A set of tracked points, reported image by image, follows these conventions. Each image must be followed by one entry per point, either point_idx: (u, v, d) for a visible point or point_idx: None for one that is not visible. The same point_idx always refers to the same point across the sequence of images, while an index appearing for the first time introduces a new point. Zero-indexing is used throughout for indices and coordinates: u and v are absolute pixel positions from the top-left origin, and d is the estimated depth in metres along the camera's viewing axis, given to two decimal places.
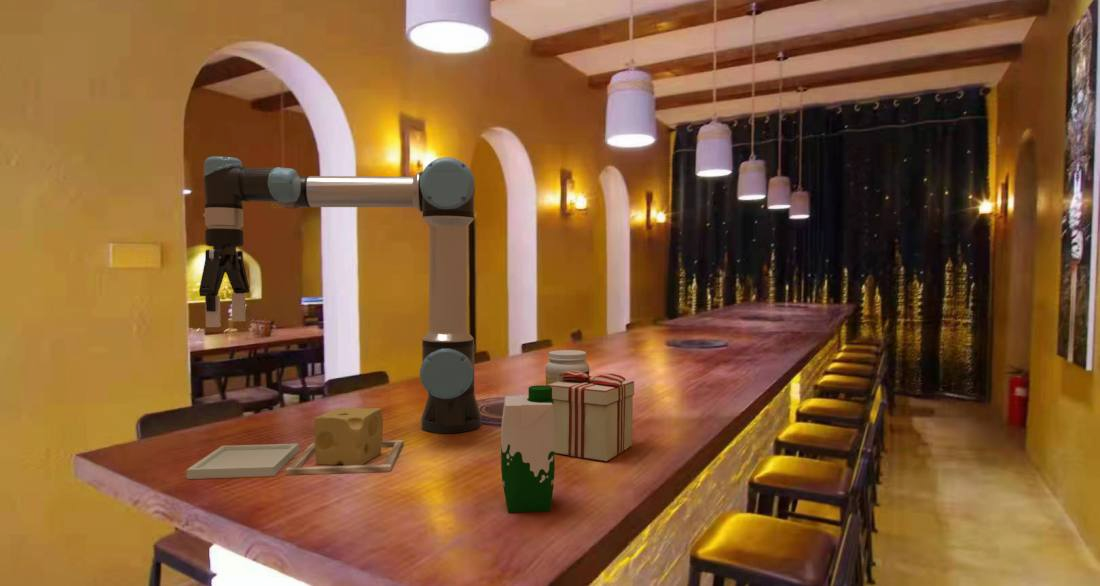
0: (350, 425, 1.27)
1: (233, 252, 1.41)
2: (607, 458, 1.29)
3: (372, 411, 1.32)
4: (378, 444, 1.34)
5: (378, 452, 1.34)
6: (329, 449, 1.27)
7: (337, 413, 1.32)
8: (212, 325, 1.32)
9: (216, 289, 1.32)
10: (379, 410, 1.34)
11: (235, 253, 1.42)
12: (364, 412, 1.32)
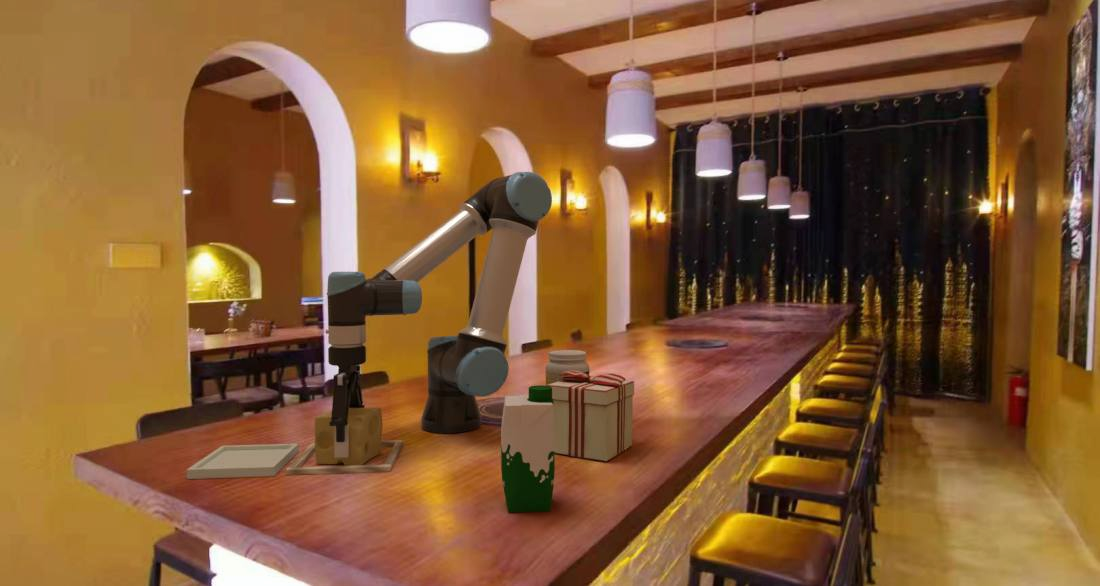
0: (350, 424, 1.27)
1: (354, 368, 1.33)
2: (607, 458, 1.29)
3: (372, 410, 1.33)
4: (378, 444, 1.34)
5: (378, 451, 1.34)
6: (329, 448, 1.28)
7: None
8: (341, 455, 1.25)
9: (346, 418, 1.25)
10: (379, 409, 1.35)
11: (355, 368, 1.34)
12: (364, 411, 1.32)
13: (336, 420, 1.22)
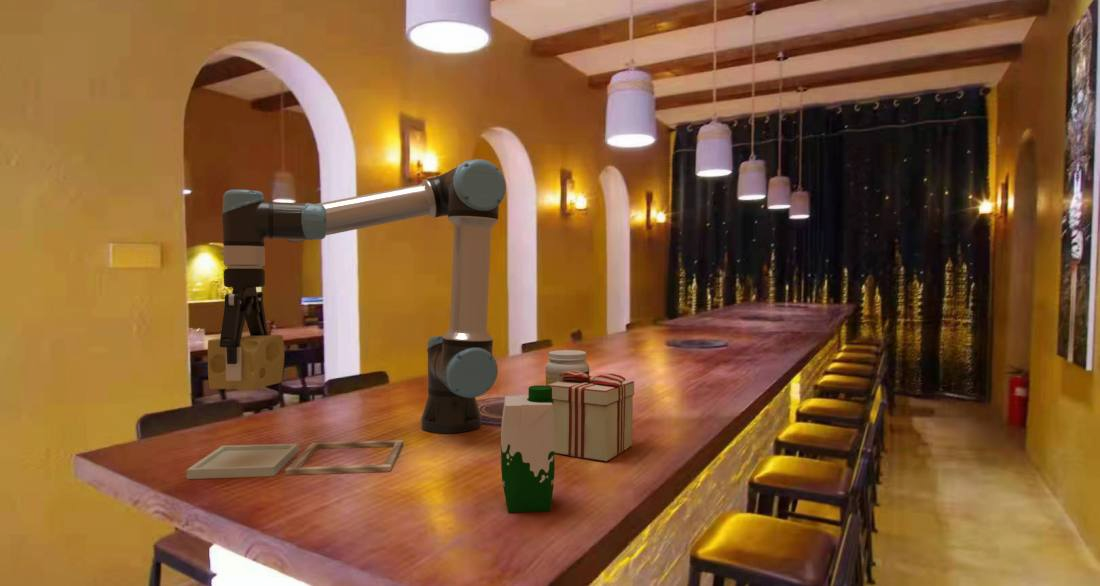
0: (244, 347, 1.23)
1: (253, 292, 1.28)
2: (607, 458, 1.29)
3: (271, 336, 1.28)
4: (278, 372, 1.29)
5: (278, 380, 1.30)
6: (222, 372, 1.23)
7: None
8: (233, 378, 1.21)
9: (238, 339, 1.20)
10: (280, 336, 1.30)
11: (255, 293, 1.30)
12: (262, 337, 1.27)
13: (225, 340, 1.18)
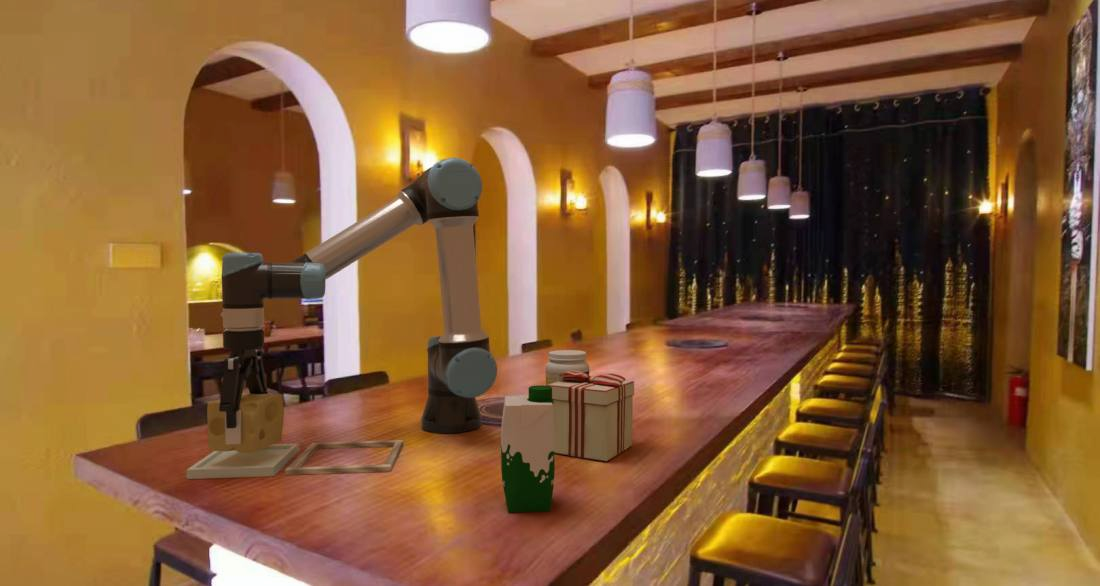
0: (243, 410, 1.23)
1: (253, 352, 1.29)
2: (607, 458, 1.29)
3: (270, 396, 1.28)
4: (277, 431, 1.30)
5: (278, 439, 1.30)
6: (222, 435, 1.23)
7: None
8: (232, 442, 1.21)
9: (237, 403, 1.21)
10: (279, 395, 1.30)
11: (255, 353, 1.30)
12: (262, 397, 1.28)
13: (225, 405, 1.18)
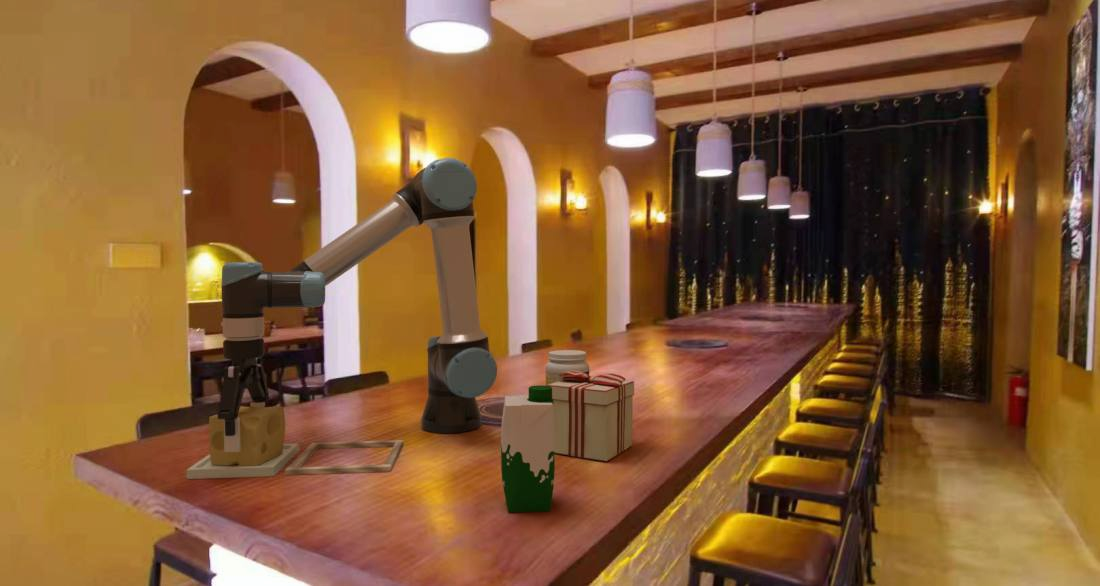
0: (246, 424, 1.23)
1: (253, 362, 1.29)
2: (607, 458, 1.29)
3: (272, 410, 1.29)
4: (279, 444, 1.30)
5: (279, 452, 1.31)
6: None
7: None
8: (231, 450, 1.21)
9: (236, 411, 1.20)
10: (280, 409, 1.31)
11: (255, 362, 1.30)
12: (263, 411, 1.28)
13: (223, 413, 1.17)
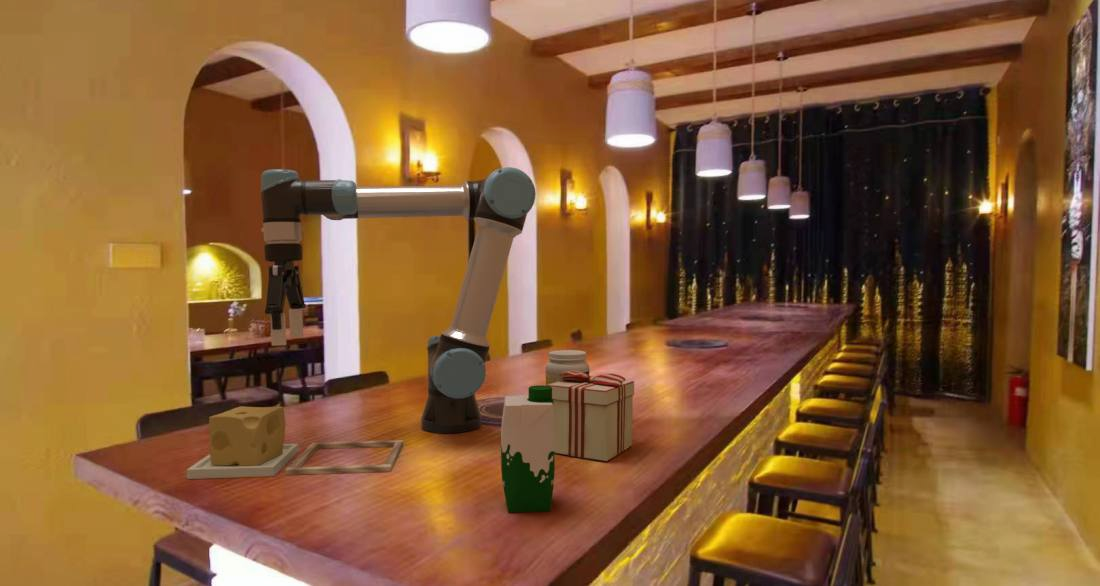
0: (246, 424, 1.23)
1: (292, 267, 1.37)
2: (607, 458, 1.29)
3: (272, 410, 1.29)
4: (279, 444, 1.30)
5: (279, 452, 1.31)
6: (224, 449, 1.24)
7: (235, 412, 1.28)
8: (278, 343, 1.29)
9: (281, 306, 1.28)
10: (280, 409, 1.31)
11: (293, 268, 1.38)
12: (263, 411, 1.28)
13: (271, 306, 1.25)
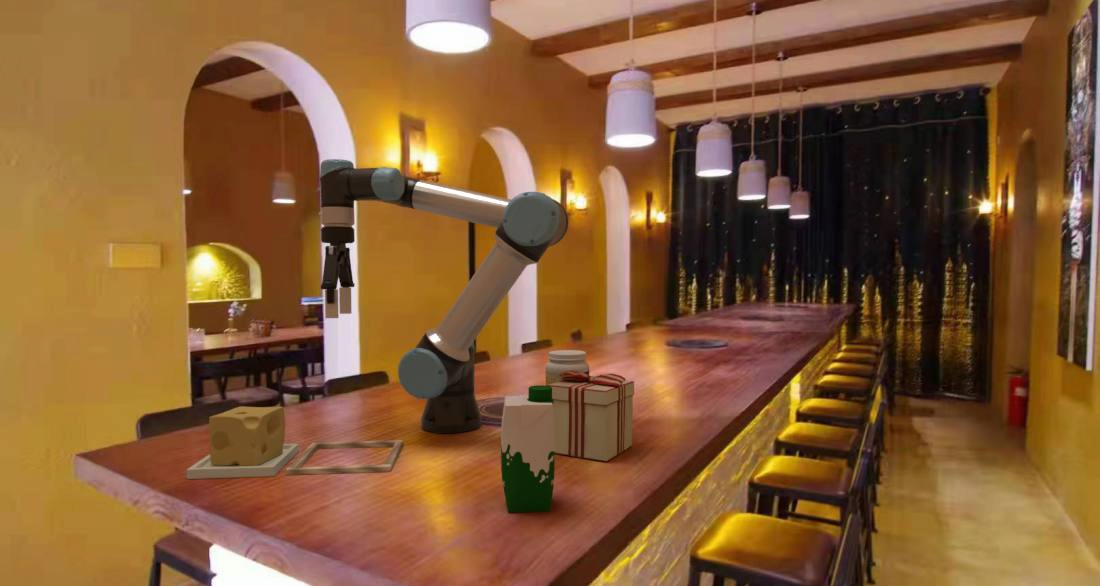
0: (246, 424, 1.23)
1: (344, 248, 1.50)
2: (607, 458, 1.29)
3: (272, 410, 1.29)
4: (279, 444, 1.30)
5: (279, 452, 1.31)
6: (224, 449, 1.24)
7: (235, 412, 1.28)
8: (331, 316, 1.42)
9: (335, 283, 1.41)
10: (280, 409, 1.31)
11: (345, 249, 1.51)
12: (263, 411, 1.28)
13: (326, 282, 1.39)
